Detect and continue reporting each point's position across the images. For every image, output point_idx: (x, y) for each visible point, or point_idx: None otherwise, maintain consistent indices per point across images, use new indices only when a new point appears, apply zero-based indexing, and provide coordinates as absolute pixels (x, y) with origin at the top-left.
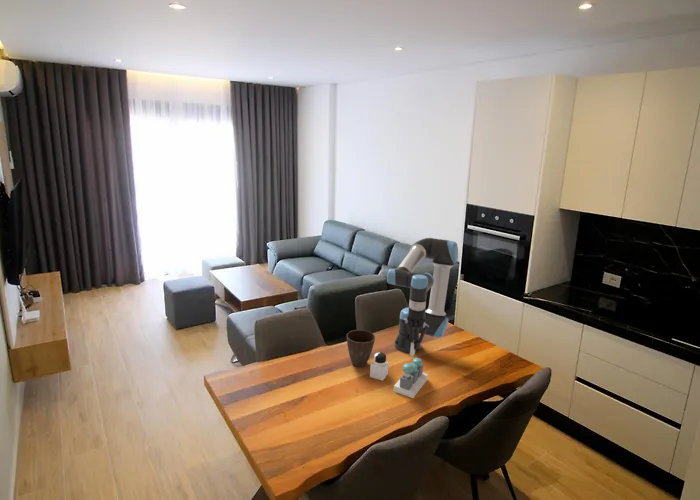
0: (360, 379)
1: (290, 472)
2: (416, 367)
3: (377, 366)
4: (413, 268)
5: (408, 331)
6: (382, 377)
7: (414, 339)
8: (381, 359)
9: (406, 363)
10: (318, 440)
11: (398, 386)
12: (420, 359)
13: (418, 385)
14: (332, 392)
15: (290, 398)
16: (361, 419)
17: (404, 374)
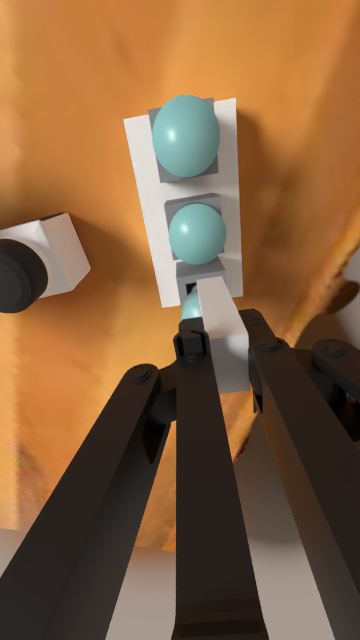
0: (34, 314)
1: (172, 537)
2: (224, 238)
3: (42, 297)
4: None
5: (125, 479)
6: (85, 275)
7: (265, 430)
8: (33, 301)
9: (188, 310)
10: (154, 497)
11: (177, 300)
12: (197, 107)
13: (238, 238)
14: (45, 407)
15: (11, 466)
16: (174, 432)
17: (183, 287)
